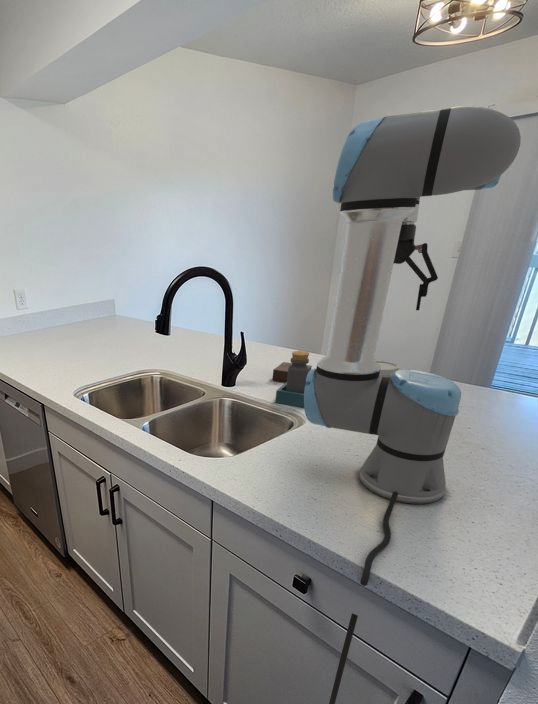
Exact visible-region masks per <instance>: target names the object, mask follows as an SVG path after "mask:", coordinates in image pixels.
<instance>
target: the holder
mask: <svg viewBox="0 0 538 704" xmlns="http://www.w3.org/2000/svg"><path fill="white" fill-rule="evenodd" d="M286 384H287V382H286V383H285V382H284V383H283V384H282V385H281V386H280V387H279V388H277V389H276V390H275V391H276V392H275V400H274V403H275V404H281V405H286V406H292V407H297V408H303V409H304V394H302V393H296V392H289V391H286Z"/></svg>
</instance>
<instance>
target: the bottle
mask: <svg viewBox="0 0 538 704" xmlns="http://www.w3.org/2000/svg"><path fill="white" fill-rule="evenodd" d="M291 355H292V357H291V358H290V363H292V365H290V366H289V368H288V376H287V384H286V391H289V392H296V393H302V394H304V390H305V386H306V378H307V375H308V373H309V367H308V366H306V365H308V364H309V363H310V358H309V356H310V352H308V351H306V350H305V351H304V350H295V351H292V352H291Z"/></svg>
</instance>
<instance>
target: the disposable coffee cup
mask: <svg viewBox="0 0 538 704" xmlns="http://www.w3.org/2000/svg"><path fill="white" fill-rule="evenodd" d="M375 361H376V362H377V363H378V364H379V365H380V367H381V369H380V373H379V376H381V377H388V378H391V375H392V374H393V373H394V372H395V371H397V370H400V369H399V365H398V364H396V363H394V362H390V361H384V360H375Z"/></svg>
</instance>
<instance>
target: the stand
mask: <svg viewBox="0 0 538 704" xmlns="http://www.w3.org/2000/svg"><path fill="white" fill-rule="evenodd" d="M290 365H292V363H291V362H286V361H283V362H281V363H280V364H279V365H277V366H276V367H275V368H273V369H272V380H271V381H273V382H277V383H284V384H285V383H286V382H287V376H288V368H289V366H290ZM306 366H308V367H309V371H310V370H312V369H313V368H312V367H313V366H312V365H311V364H310V365H309V364H306Z"/></svg>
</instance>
